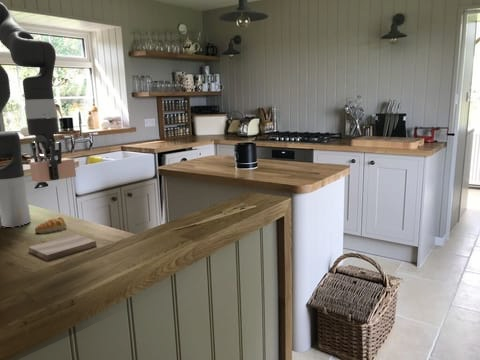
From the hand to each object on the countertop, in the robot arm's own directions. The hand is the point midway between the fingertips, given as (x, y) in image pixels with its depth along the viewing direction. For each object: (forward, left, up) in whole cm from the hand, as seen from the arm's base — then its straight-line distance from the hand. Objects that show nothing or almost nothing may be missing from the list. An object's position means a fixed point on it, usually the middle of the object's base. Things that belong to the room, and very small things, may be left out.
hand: (50, 178), depth 112 cm
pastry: (-23, +9, -21) cm, 32 cm away
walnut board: (0, +1, -21) cm, 21 cm away
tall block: (0, +6, +2) cm, 7 cm away
